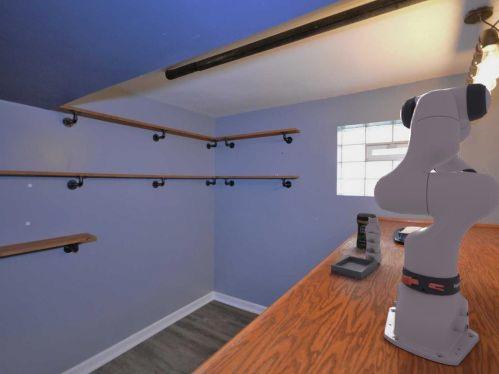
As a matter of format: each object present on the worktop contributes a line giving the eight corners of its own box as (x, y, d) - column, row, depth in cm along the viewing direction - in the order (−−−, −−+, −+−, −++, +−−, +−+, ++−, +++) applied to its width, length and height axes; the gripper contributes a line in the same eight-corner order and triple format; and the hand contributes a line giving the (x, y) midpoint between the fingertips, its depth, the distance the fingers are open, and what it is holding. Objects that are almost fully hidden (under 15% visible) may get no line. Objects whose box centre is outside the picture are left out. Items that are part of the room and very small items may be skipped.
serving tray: (361, 280, 94) (361, 272, 94) (331, 272, 102) (330, 264, 102) (377, 268, 106) (377, 260, 106) (348, 261, 114) (348, 255, 114)
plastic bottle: (384, 265, 109) (384, 219, 108) (367, 264, 110) (366, 218, 109) (379, 260, 115) (379, 216, 114) (363, 259, 116) (363, 216, 116)
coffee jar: (354, 248, 136) (354, 213, 135) (358, 244, 142) (358, 211, 141) (374, 251, 130) (374, 214, 129) (377, 247, 136) (377, 213, 135)
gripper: (417, 183, 118) (386, 187, 120) (446, 189, 98) (408, 193, 99) (418, 197, 119) (387, 200, 120) (447, 205, 98) (409, 209, 100)
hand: (397, 197), depth 110 cm, fingers open, 8 cm apart
